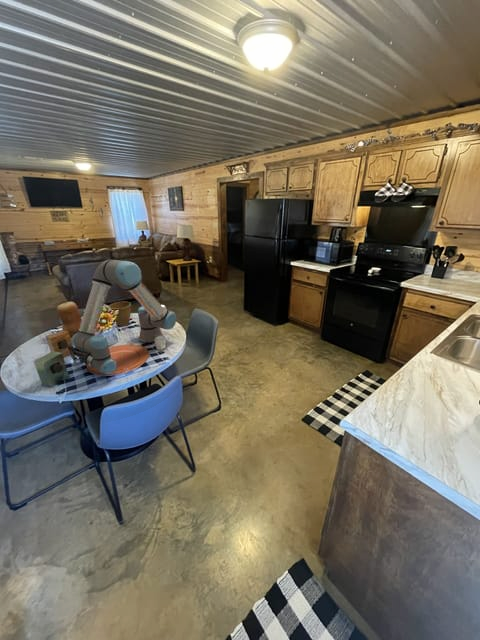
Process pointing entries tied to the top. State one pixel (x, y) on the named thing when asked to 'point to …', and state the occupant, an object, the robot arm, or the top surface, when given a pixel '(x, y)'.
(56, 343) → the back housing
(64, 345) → the back button
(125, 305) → the plant pot
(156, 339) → the shot glass
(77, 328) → the butternut squash
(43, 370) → the front housing
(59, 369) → the front button
